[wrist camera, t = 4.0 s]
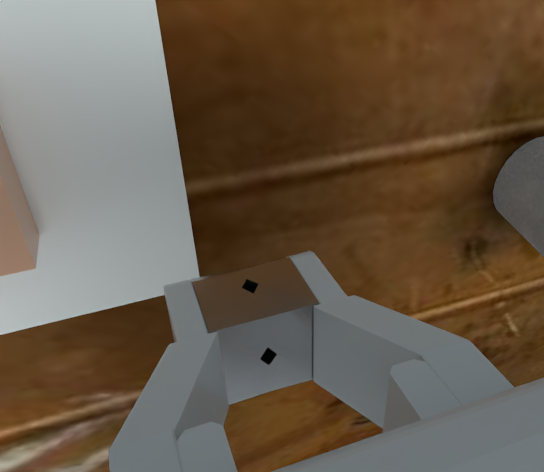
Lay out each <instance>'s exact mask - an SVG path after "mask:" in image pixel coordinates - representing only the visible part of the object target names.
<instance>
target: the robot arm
mask: <svg viewBox="0 0 544 472" xmlns="http://www.w3.org/2000/svg"><path fill="white" fill-rule="evenodd" d="M164 293H165V298H166V303H167V308H168V313H169V318H170V323H171V327H172V332H173V337H174V342H175V343H172V344H169V345H168V347H167V349H166V351H165V352H164V354H163V356H162V358H161V359H160V361H159V363H158V365H157V366H156V368H155V370H154V372H153V373H152V375H151V377H150V379H149V380H148V382H147V384H146V386H145V388H144V389H143V391H142V393H141V395H140V396H139V398H138V400H137V402H136V403H135V405H134V407H133V409H132V410H131V412H130V414H129V416H128V417H127V419H126V421H125V423H124V424H123V426H122V428H121V430H120V432H119V433H118V435H117V437H116V439H115V440H114V442H113V444H112V446H111V447H110V449H109V467H110V472H237V469H236V466H235V463H234V460H233V456H232V453H231V450H230V447H229V444H228V440H227V437H226V434H225V431H224V428H223V426H224V422H225V419H226V415H227V412H228V409H229V406H228V405H231V404H234V403H237V402H240V401H243V400H246V399H249V398H252V397H255V396H258V395H261V394H264V393H267V392H270V391H273V390H277V389H280V388H284V387H288V386H291V385H295V384H299V383H302V382H306V381H309V380H313V382H315V383H316V384H318V385H319V386H321V387H322V388H324V389H325V390H327V391H328V392H330V393H331V394H333V395H334V396H335V397H337V398H338V399H340V400H341V401H343V402H344V403H346V404H347V405H349V406H350V407H352V408H353V409H355V410H356V411H358V412H359V413H360V414H362V415H363V416H365V417H366V418H368V419H369V420H371V421H372V422H374V423H375V424H377V425H378V426H380V427H381V428H383V433H381V434H378V435H376V436H373V437H370V438H367V439H364V440H361V441H358V442H355V443H352V444H349V445H347V446H344V447H341V448H338V449H335V450H332V451H329V452H326V453H323V454H321V455H318V456H315V457H312V458H309V459H306V460H303V461H300V462H297V463H294V464H292V465H289V466H286V467H283V468H280V469H277V470H274V471H271V472H544V377H543V378H540V379H537V380H535V381H532V382H529V383H526V384H523V385H520V386H517V387H514V386H513V385H512V384H511V383H510V382H509V381H508V380H507V379H506V378H505V377H504V376H503V375H502V374H501V373H500V372H499V371H498V370H497V369H496V368H495V367H494V366H493V365H492V363H491V362H490V361H489V360H488V359H487V358H486V357H485V356H484V355H483V354H482V353H481V352H480V351H479V350H478V349H477V348H476V347H475V346H474V345H473V344H472V343H471V342H470V341H469V340H467V339H465V338H462V337H459V336H457V335H454V334H452V333H449V332H447V331H444V330H442V329H439V328H437V327H434V326H432V325H429V324H427V323H424V322H421V321H419V320H416V319H414V318H411V317H409V316H406V315H404V314H401V313H399V312H396V311H394V310H391V309H388V308H386V307H383V306H381V305H378V304H376V303H373V302H371V301H368V300H366V299H363V298H361V297H358V296H355V295H353V296H349V297H348V296H347V295H346V294H345V293H344V291H343V290H342V289H341V287H340V286H339V285H338V283H337V282H336V281H335V279H334V278H333V277H332V275H331V274H330V273H329V271H328V270H327V269H326V268H325V266H324V265H323V264H322V262H321V261H320V260H319V258H318V257H317V256H316V254H315V253H314V252H312V251H307V252H303V253H300V254H296V255H292V256H288V257H287V258H284V259H280V260H276V261H271V262H267V263H263V264H259V265H255V266H251V267H247V268H243V269H236V270H231V271H227V272H222V273H217V274H212V275H208V276H203V277H198V278H194V279H190V280H185V281H181V282H176V283H172V284H168V285H164Z"/></svg>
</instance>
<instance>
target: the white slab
mask: <svg viewBox="0 0 544 472" xmlns="http://www.w3.org/2000/svg"><path fill="white" fill-rule="evenodd" d="M0 126H1V129H2V132H3V134H4V137H5V140H6V143H7V146H8V148H9V151H10V154H11V157H12V160H13V162H14V165H15V168H16V171H17V174H18V177H19V179H20V182H21V185H22V188H23V191H24V193H25V196H26V199H27V202H28V205H29V207H30V210H31V213H32V216H33V219H34V221H35V224H36V227H37V230H38V233H39V235H40V236H39V245H38V254H37V263H36V269H32V270H27V271H22V272H18V273H13V274H8V275H4V276H0V335H2V334H6V333H10V332H14V331H18V330H22V329H27V328H31V327H35V326H39V325H43V324H47V323H51V322H55V321H59V320H64V319H68V318H72V317H76V316H80V315H84V314H88V313H92V312H97V311H101V310H105V309H109V308H113V307H117V306H121V305H125V304H129V303H134V302H138V301H142V300H146V299H150V298H154V297H158V296H162V295H165V293H164V285H168V284H172V283H176V282H181V281H185V280H190V279H194V278H198V277H200V276H199V270H198V264H197V258H196V251H195V245H194V239H193V233H192V226H191V220H190V214H189V208H188V202H187V195H186V189H185V183H184V177H183V170H182V164H181V158H180V152H179V145H178V139H177V133H176V127H175V121H174V114H173V108H172V102H171V96H170V89H169V83H168V77H167V71H166V64H165V58H164V52H163V46H162V40H161V33H160V27H159V21H158V15H157V8H156V2H155V0H0Z"/></svg>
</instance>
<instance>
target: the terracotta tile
mask: <svg viewBox="0 0 544 472" xmlns="http://www.w3.org/2000/svg"><path fill="white" fill-rule="evenodd" d="M39 236H40V235H39V233H38V230H37V227H36V224H35V221H34V219H33V216H32V213H31V210H30V207H29V205H28V202H27V199H26V196H25V193H24V191H23V188H22V185H21V182H20V179H19V177H18V174H17V171H16V168H15V165H14V162H13V160H12V157H11V154H10V151H9V148H8V146H7V143H6V140H5V137H4V134H3V132H2V129H1V126H0V276H4V275H8V274H13V273H18V272H22V271H27V270H32V269H36V263H37V254H38V245H39Z"/></svg>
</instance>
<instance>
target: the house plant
mask: <svg viewBox="0 0 544 472" xmlns="http://www.w3.org/2000/svg"><path fill="white" fill-rule="evenodd" d="M493 202H494V205H495V208H496V210H497V211H498V212H499V213H500V214H501V215H502V216H503V217H504V218H505V219H506V220H507V221H508V222H509V223H510V224H511V225H512V226H513V227H514V228H515V229H516V230H517V231H518V232H519V233H520V234H521V235H522V236H523V237H524V238H525V239H526V240H527V241H528V242H529V243H530V244H531V245H532V246H533V247H534V248H535V249H536V250H537V251H538V252H539V253H540V254H541V255H542V256H543V257H544V136H543V137H538V138H535V139H533V140H531V141H529V142H527V143H525V144H524V145H523V146H521V147H520V148H519V149H517V150H516V151H515V152H514V153H513V154H512V155H511V156H510V158H509V159H508V160H507V161H506V163H505V164H504V166H503V167H502V169H501V170H500V172H499V174H498V177H497V179H496V181H495V185H494V190H493Z"/></svg>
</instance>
